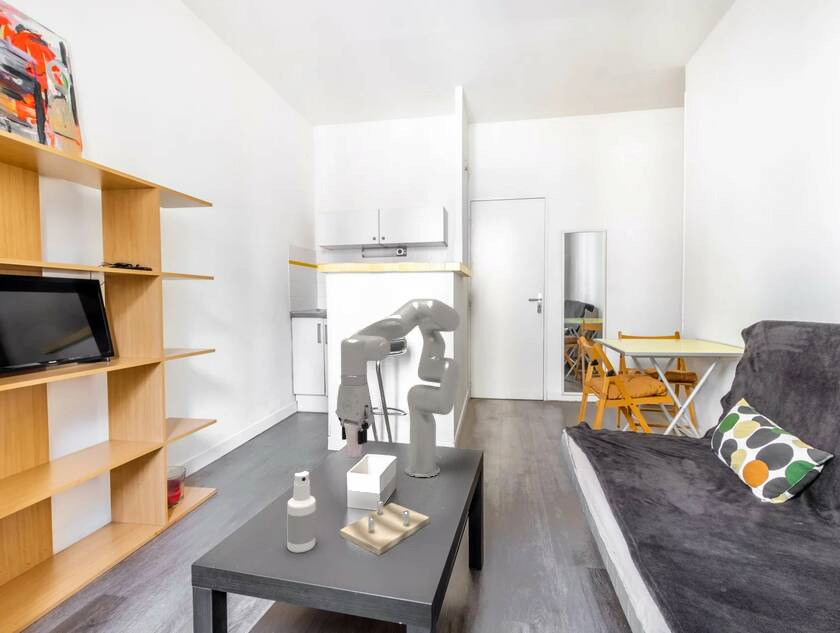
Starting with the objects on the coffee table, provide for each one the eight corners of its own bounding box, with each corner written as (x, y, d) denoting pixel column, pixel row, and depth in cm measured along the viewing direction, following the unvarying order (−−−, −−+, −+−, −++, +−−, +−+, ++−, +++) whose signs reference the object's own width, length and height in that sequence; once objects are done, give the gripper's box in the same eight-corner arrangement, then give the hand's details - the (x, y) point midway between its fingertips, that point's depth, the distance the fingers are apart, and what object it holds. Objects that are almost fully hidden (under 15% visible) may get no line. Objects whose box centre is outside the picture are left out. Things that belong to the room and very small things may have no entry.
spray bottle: (291, 556, 100) (291, 481, 99) (284, 542, 105) (284, 471, 105) (319, 548, 103) (319, 475, 103) (310, 535, 109) (311, 466, 109)
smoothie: (339, 454, 123) (339, 407, 123) (356, 448, 128) (356, 403, 127) (352, 460, 119) (352, 411, 118) (370, 454, 124) (370, 407, 123)
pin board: (391, 507, 125) (391, 490, 125) (429, 522, 116) (429, 504, 116) (339, 535, 109) (340, 516, 109) (379, 555, 100) (379, 534, 100)
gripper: (324, 378, 125) (325, 438, 126) (365, 385, 115) (366, 450, 115) (343, 375, 131) (344, 432, 132) (384, 381, 121) (384, 443, 121)
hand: (354, 440), depth 123 cm, fingers closed on smoothie, 6 cm apart
